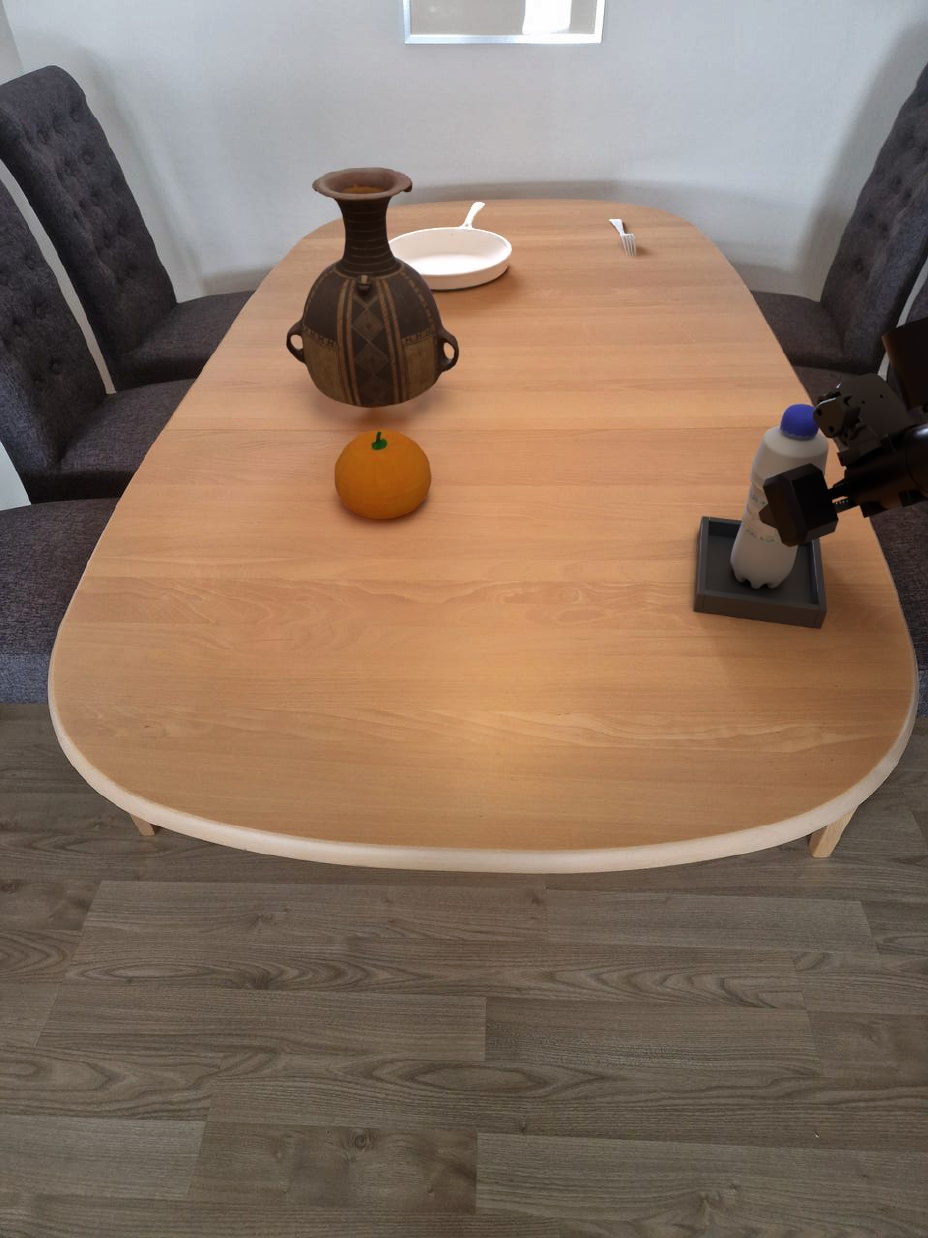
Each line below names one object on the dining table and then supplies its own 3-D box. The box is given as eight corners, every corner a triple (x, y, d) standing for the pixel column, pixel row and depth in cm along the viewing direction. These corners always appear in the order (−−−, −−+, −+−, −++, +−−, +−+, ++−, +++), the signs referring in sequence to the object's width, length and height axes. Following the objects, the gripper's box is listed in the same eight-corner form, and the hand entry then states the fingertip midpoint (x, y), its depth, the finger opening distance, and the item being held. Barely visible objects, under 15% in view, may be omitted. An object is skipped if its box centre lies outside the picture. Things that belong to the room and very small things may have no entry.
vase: (279, 421, 115) (230, 193, 94) (348, 363, 128) (319, 150, 107) (422, 454, 108) (403, 214, 87) (481, 389, 120) (477, 165, 99)
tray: (812, 546, 91) (818, 529, 89) (821, 629, 82) (827, 611, 80) (698, 533, 94) (702, 515, 92) (693, 611, 84) (697, 593, 82)
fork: (619, 231, 174) (621, 217, 172) (638, 255, 157) (639, 240, 155) (606, 232, 174) (607, 218, 172) (624, 256, 157) (625, 240, 155)
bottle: (712, 566, 88) (751, 400, 75) (762, 548, 90) (809, 384, 76) (751, 603, 84) (801, 434, 70) (803, 584, 86) (861, 416, 72)
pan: (362, 289, 149) (359, 263, 146) (425, 221, 175) (424, 198, 172) (493, 299, 144) (493, 273, 140) (538, 228, 170) (538, 205, 167)
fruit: (447, 484, 102) (443, 413, 96) (411, 538, 95) (404, 465, 88) (363, 469, 106) (353, 399, 99) (322, 520, 98) (308, 448, 91)
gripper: (984, 335, 66) (844, 401, 81) (808, 390, 60) (692, 449, 75) (1028, 464, 66) (880, 506, 81) (857, 530, 60) (731, 562, 75)
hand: (798, 503), depth 78 cm, fingers open, 9 cm apart
